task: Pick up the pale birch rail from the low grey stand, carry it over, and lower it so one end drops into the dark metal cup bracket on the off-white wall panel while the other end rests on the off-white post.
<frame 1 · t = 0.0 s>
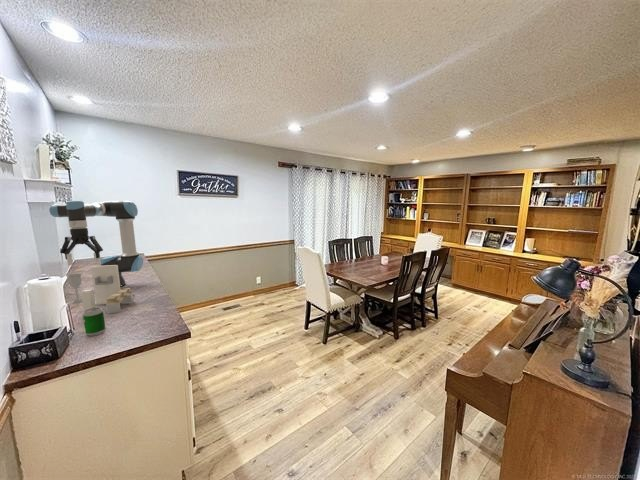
hand: (84, 264, 154), 28 cm above the counter, tool pointing down, fingers open, 13 cm apart
rail: (119, 299, 161), point 5 cm above the counter, touching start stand
soda can: (96, 333, 130), on the counter
chalice: (78, 301, 172), on the counter
bracket panel: (99, 308, 161), on the counter
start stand: (120, 307, 162), on the counter
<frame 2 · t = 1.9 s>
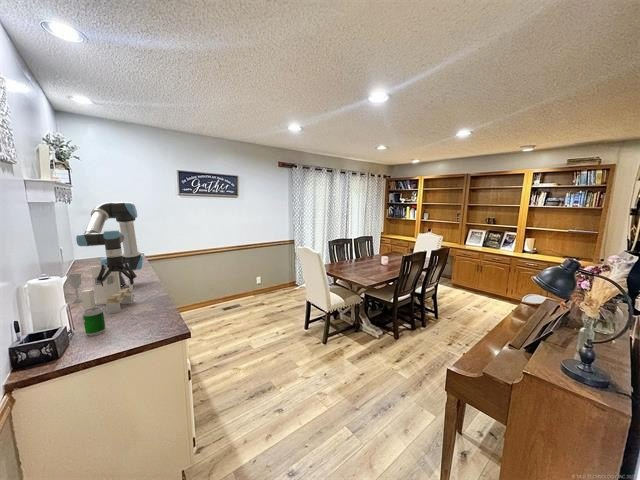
hand: (118, 290, 160), 11 cm above the counter, tool pointing down, fingers open, 13 cm apart
nothing on the counter moved.
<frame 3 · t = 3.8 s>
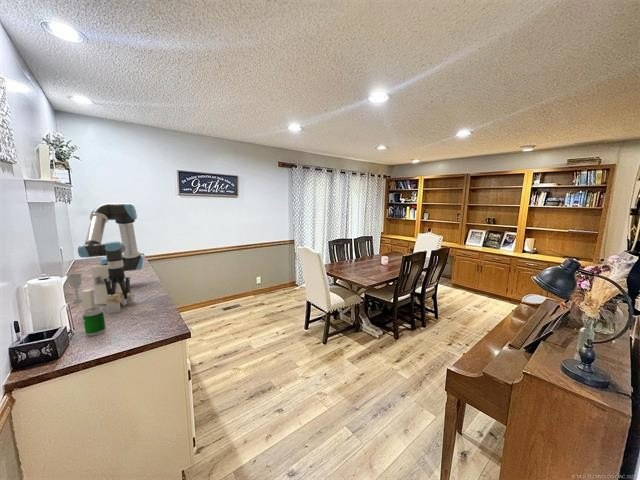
hand: (120, 304, 162), 2 cm above the counter, tool pointing down, fingers closed on rail, 4 cm apart
rail: (119, 299, 161), point 5 cm above the counter, touching gripper, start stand
everything else where it was.
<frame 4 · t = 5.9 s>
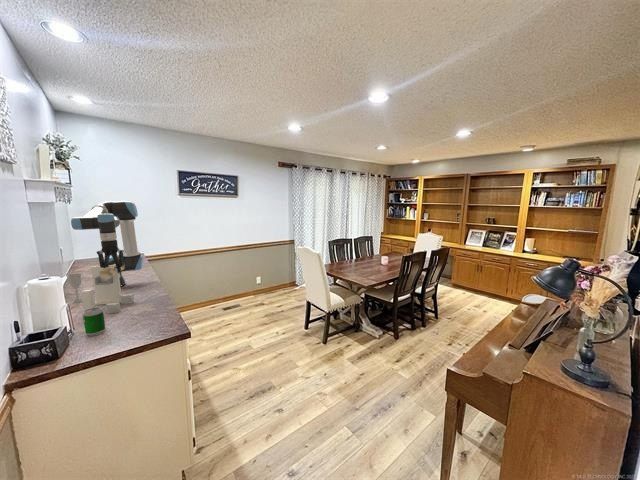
hand: (113, 278, 159), 18 cm above the counter, tool pointing down, fingers closed on rail, 4 cm apart
rail: (113, 272, 158), point 22 cm above the counter, touching gripper
everything else where it was.
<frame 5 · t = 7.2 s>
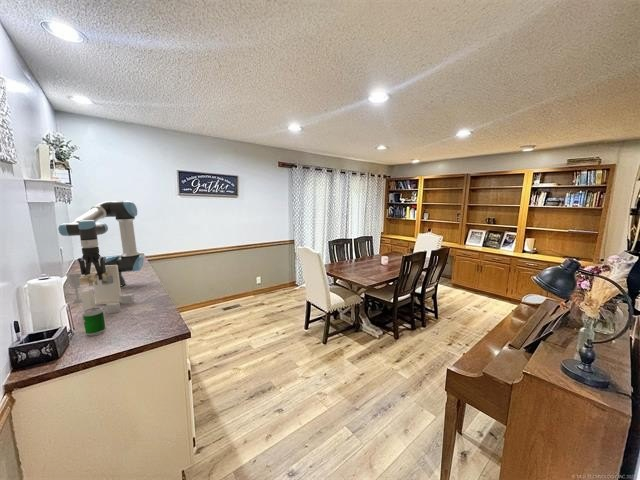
hand: (95, 285, 157), 15 cm above the counter, tool pointing down, fingers closed on rail, 4 cm apart
rail: (94, 279, 157), point 18 cm above the counter, touching gripper
everything else where it was.
when the fingers open (12 cm above the counter, at t = 8.3 s): rail drops 1 cm, resting on bracket panel.
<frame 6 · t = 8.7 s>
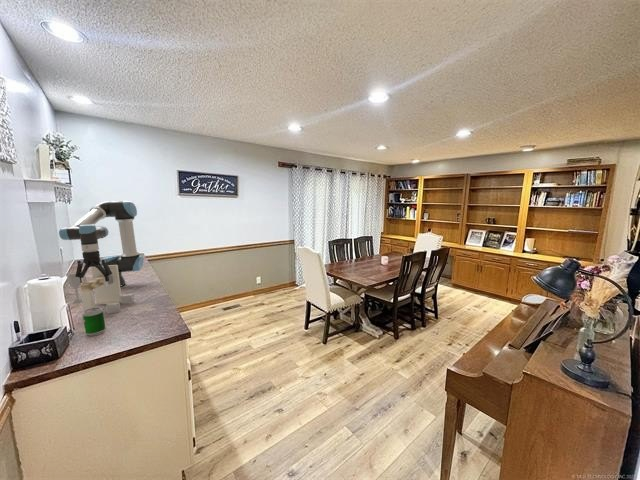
hand: (95, 287, 158), 13 cm above the counter, tool pointing down, fingers open, 10 cm apart
rail: (95, 286, 158), point 14 cm above the counter, touching bracket panel
everything else where it was.
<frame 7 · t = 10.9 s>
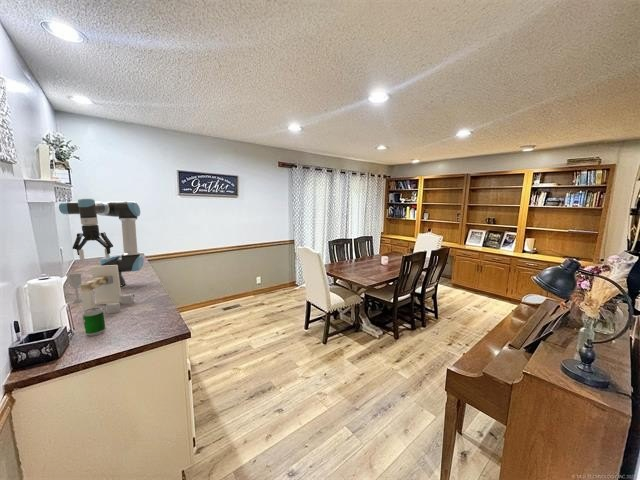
hand: (95, 259, 160), 29 cm above the counter, tool pointing down, fingers open, 13 cm apart
nothing on the counter moved.
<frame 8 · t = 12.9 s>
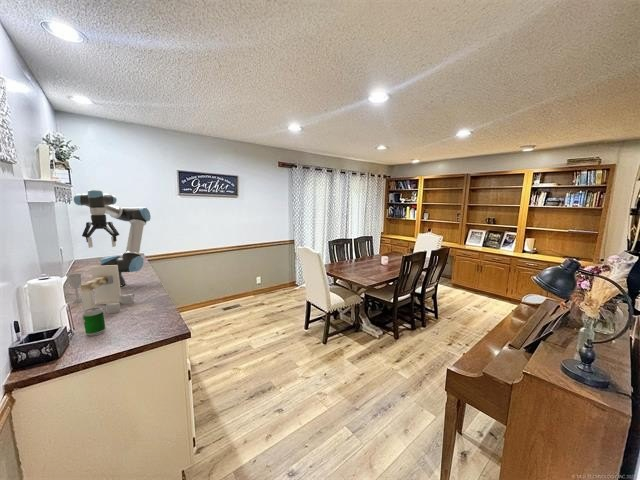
hand: (102, 247, 173), 35 cm above the counter, tool pointing down, fingers open, 13 cm apart
nothing on the counter moved.
at the end: rail 0.0 cm from the target spot, point 14.0 cm above the counter; rail tilted 0°; the gripper is holding nothing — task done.
